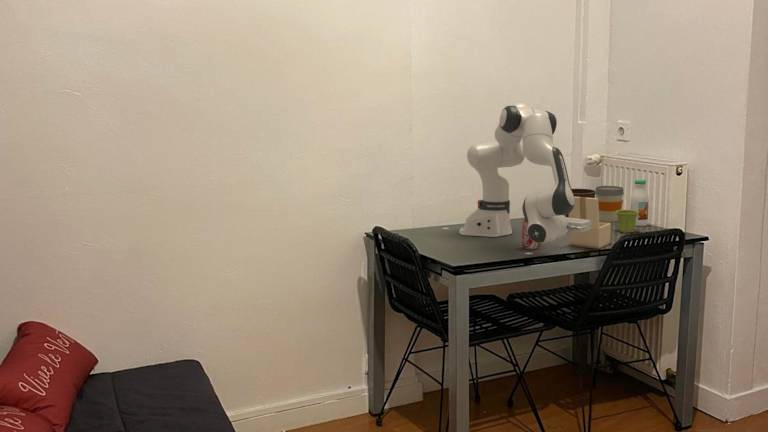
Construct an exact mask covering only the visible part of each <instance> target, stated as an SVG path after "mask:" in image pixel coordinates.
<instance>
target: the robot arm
mask: <svg viewBox="0 0 768 432" xmlns="http://www.w3.org/2000/svg"><path fill="white" fill-rule="evenodd" d="M557 120H558V119H557V118H556V115H555V114H554V113H552V112H550V111H547V110H541V109H537V108H534V107H530V106H529V105H528V104H526V103H524V102H517V103H514V104H513V105H506V106H505V107H504V108H502V110H501V113H500V115H499V123H498V125H497V127H495V128H496V129H495V130H494V138H495V141H488V142H487V141H485V142H484V141H483V142H478V143H474V144H472V145H470V146H469V148H468V150H467V153H466V158H467V162H468V164H469V165H470V166H471V167H472V168H473V169H474V170H475V171H476V172H477V174H478V175H479V177H480V179H481V184H482V188H481V189H482V199H478V200H477V201H476V203H477V209H476V210H474V211H473V212H471V214H469V215H468V216H467V217H466V218H465V221H464V226H463V227H461V228H460V229H459V232H458V233H459V234H460V235H462V236H470V237H471V236H472V237H473V236H475V237H489V238H491V237H492V238H497V237H501V236H502V237H503V236H509V235H511V234H513V230H512V226H511V219H510V213H511V201H510V183H509V181H508V180H507V179H506V178H505V177H504V176H502V175H500V174H499V170H498V169H499V168H512V167H515V166H518V165H521V164H522V163H523V162H524V160H525V159H526V160H527V161H529V162H530V163H533V164H535V165H539V166H545V167H546V166H547V167H551V170H552V171H551V172H552V175H553V179H554V186H553V187H552V188H550V189H546V190H543V191H538V192H534V193H531V194H528V195H526V197H525V198H524V201H523V204H522V208H521V209H522V214H523V218H525V220H526V221H527V223H528V228H527V233H528V236H529V238H530V239H531V240H532V241H534V242H536V243H540V244H547V243H550V242H552V241H554V240H557V239H559V238H562V237H564V236H565V235H567V233H568V232H570V231H574V232H584V231H588V230H590V229H591V221H590V220H586V219H576V218H569V217H566V216H565V215H566V214H569V213H570V212H571V211H572V209H573V208H574V206H575V198H574V195H573V192H572V189H573V188H572V186H571V184H570V179H569V175H568V174H569V173H568V170H567V166H566V163H565V157H564V155H563V153H562V151H561V150H560V148H558V147H556V146H555V145H554V140H553V139H554V138H553V137H554V136H553V135H554V134H555V132H556V131H557V126H558V125H557V123H558V122H557ZM521 142H522V143H521Z"/></svg>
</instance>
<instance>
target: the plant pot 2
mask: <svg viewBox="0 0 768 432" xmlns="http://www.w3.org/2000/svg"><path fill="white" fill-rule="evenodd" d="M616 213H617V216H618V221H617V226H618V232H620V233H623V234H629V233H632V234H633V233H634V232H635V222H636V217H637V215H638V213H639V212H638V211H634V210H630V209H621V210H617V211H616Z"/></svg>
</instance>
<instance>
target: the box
mask: <svg viewBox="0 0 768 432" xmlns="http://www.w3.org/2000/svg"><path fill="white" fill-rule="evenodd" d="M611 231H612V222H603V221H599V229H596V228H591V229H590V230H588V231H584V232H574V231H569V246H574V247H581V248H588V249H589V248H591V249H601V248H603V247H605V246H607V245H609V244H611V237H612V236H611V234H612V232H611Z"/></svg>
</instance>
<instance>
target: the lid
mask: <svg viewBox="0 0 768 432" xmlns="http://www.w3.org/2000/svg"><path fill="white" fill-rule="evenodd" d="M574 198H575V206H574V208H573V209H572V211H571V212H570V213H569V218H576V219H586V220H590V221H591V228H596V229H599V222H600V221H599V207H598V199H597V198H596V197H595V198H585V197H574Z"/></svg>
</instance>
